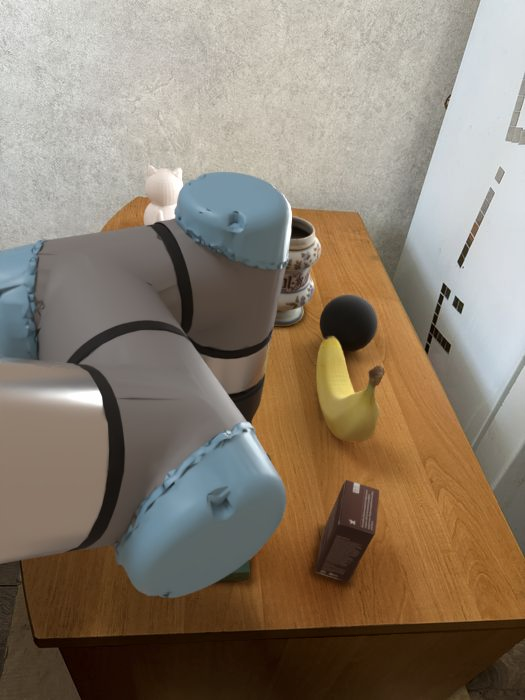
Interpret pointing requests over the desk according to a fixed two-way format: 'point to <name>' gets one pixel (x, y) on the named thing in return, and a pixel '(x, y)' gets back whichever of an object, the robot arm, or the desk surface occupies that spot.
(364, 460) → the desk surface
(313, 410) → the desk surface
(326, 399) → the banana
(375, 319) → the decorative ball
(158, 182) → the cat figurine
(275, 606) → the desk surface
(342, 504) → the box
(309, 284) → the apothecary jar
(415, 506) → the desk surface
